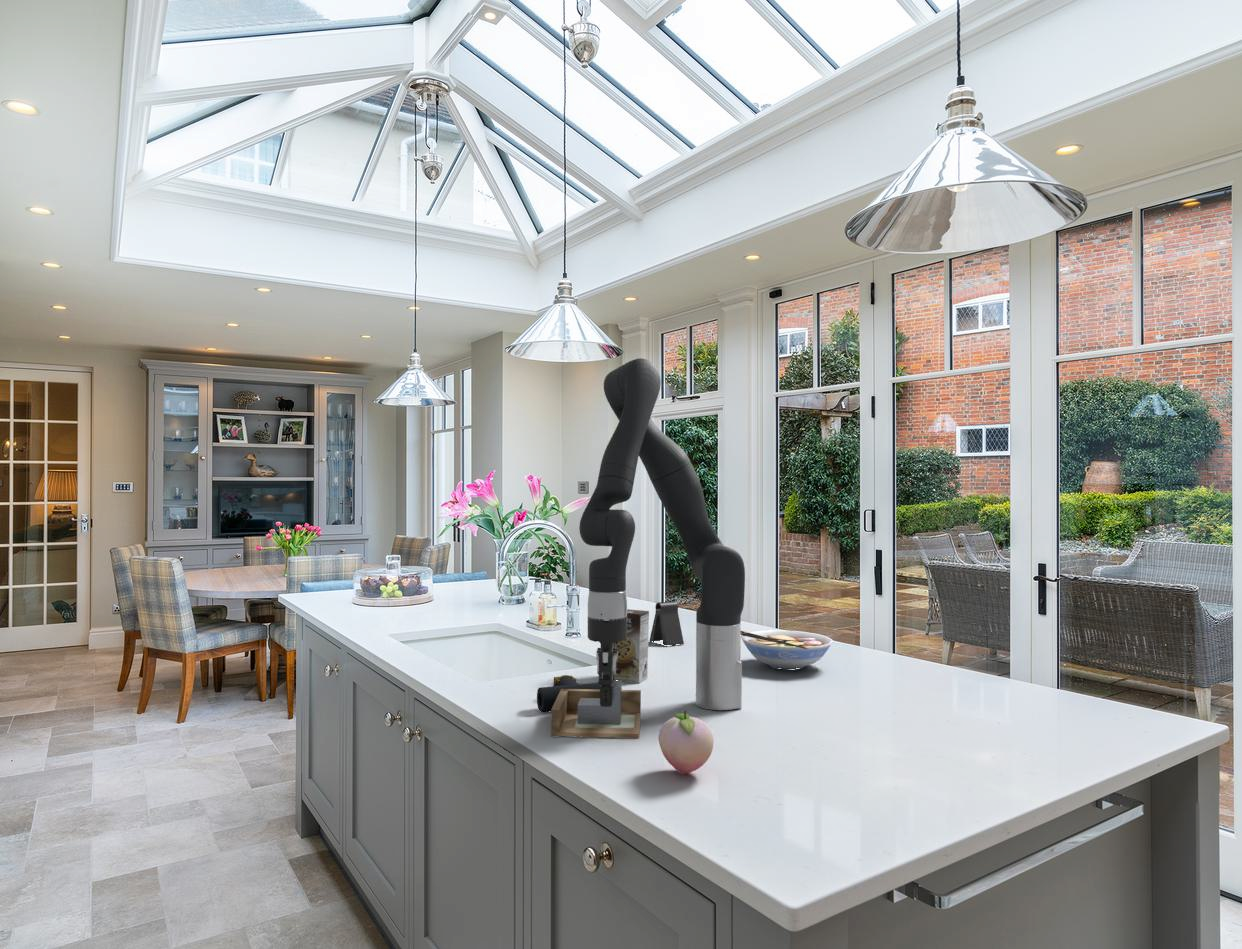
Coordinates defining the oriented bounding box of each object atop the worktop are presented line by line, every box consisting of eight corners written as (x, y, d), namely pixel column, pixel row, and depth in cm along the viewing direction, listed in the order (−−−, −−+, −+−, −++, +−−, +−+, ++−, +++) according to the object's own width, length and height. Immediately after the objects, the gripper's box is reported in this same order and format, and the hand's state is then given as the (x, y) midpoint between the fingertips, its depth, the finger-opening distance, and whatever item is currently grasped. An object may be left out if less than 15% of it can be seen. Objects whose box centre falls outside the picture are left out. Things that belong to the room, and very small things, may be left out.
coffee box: (603, 679, 185) (603, 611, 185) (613, 673, 191) (614, 607, 191) (639, 683, 182) (640, 613, 182) (649, 677, 188) (649, 609, 188)
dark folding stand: (684, 645, 227) (684, 603, 227) (666, 647, 223) (667, 604, 224) (666, 639, 234) (666, 599, 234) (649, 641, 231) (649, 600, 231)
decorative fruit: (722, 782, 122) (722, 717, 122) (672, 787, 119) (673, 721, 119) (699, 761, 131) (699, 701, 131) (652, 766, 128) (653, 704, 128)
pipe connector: (528, 676, 167) (595, 670, 173) (528, 701, 167) (595, 694, 173) (543, 690, 157) (614, 684, 162) (543, 717, 157) (613, 709, 162)
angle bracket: (580, 716, 152) (580, 679, 152) (621, 716, 152) (621, 680, 152) (577, 723, 147) (577, 686, 147) (620, 724, 147) (620, 687, 147)
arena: (640, 714, 157) (640, 690, 157) (638, 738, 142) (639, 711, 142) (561, 712, 158) (561, 688, 158) (550, 736, 143) (551, 710, 143)
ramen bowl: (855, 671, 196) (855, 638, 196) (791, 683, 183) (791, 648, 183) (782, 653, 216) (782, 623, 216) (719, 663, 203) (719, 631, 203)
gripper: (590, 608, 157) (590, 690, 157) (584, 620, 143) (584, 710, 142) (628, 608, 157) (627, 690, 156) (626, 620, 142) (626, 710, 142)
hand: (607, 699), depth 149 cm, fingers open, 8 cm apart
